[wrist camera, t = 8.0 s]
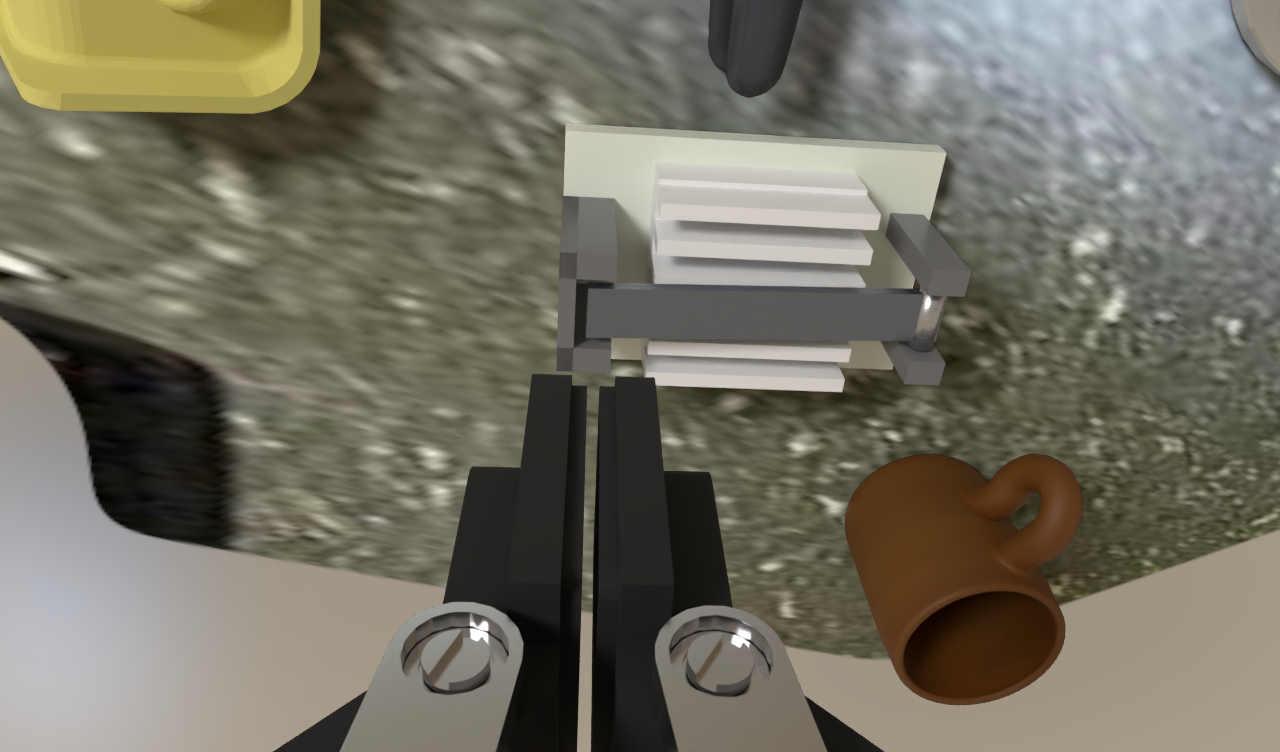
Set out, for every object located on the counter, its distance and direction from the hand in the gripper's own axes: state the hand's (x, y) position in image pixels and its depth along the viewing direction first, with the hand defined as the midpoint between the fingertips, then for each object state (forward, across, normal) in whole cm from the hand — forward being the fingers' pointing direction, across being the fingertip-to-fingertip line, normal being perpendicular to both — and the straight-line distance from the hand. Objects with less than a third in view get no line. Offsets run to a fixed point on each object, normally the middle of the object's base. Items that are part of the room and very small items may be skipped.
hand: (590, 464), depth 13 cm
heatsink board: (+26, -6, +8) cm, 28 cm away
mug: (+26, -18, +20) cm, 37 cm away
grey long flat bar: (+21, -7, +8) cm, 23 cm away
